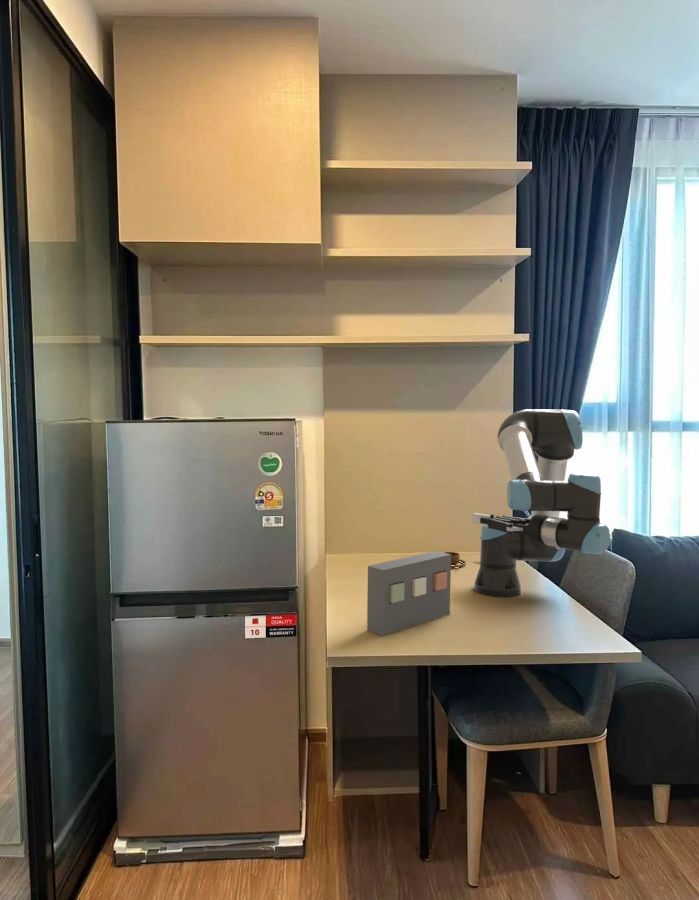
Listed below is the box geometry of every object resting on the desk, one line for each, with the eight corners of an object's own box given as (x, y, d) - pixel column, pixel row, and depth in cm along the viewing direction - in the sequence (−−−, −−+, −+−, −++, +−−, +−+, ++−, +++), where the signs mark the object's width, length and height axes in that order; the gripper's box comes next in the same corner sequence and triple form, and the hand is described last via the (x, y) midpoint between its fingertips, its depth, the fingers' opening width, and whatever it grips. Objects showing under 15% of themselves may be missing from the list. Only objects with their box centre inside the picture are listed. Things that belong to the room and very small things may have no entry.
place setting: (436, 559, 266) (436, 545, 265) (487, 562, 262) (487, 548, 261) (432, 570, 248) (433, 555, 248) (487, 574, 244) (487, 558, 244)
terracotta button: (432, 583, 197) (432, 568, 197) (446, 587, 193) (447, 572, 193) (422, 586, 194) (422, 571, 194) (436, 590, 190) (436, 575, 190)
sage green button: (389, 595, 185) (390, 579, 185) (404, 599, 181) (404, 583, 181) (378, 598, 182) (378, 582, 182) (392, 603, 178) (392, 586, 178)
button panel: (434, 609, 201) (435, 550, 199) (449, 614, 196) (451, 554, 195) (367, 630, 182) (367, 565, 181) (382, 636, 178) (383, 570, 176)
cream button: (411, 589, 191) (412, 573, 191) (426, 593, 187) (426, 577, 187) (400, 592, 188) (400, 576, 188) (415, 596, 184) (415, 580, 184)
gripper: (533, 548, 167) (459, 533, 184) (560, 541, 176) (487, 528, 193) (534, 519, 166) (459, 507, 184) (561, 513, 175) (488, 502, 193)
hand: (474, 517), depth 188 cm, fingers closed
